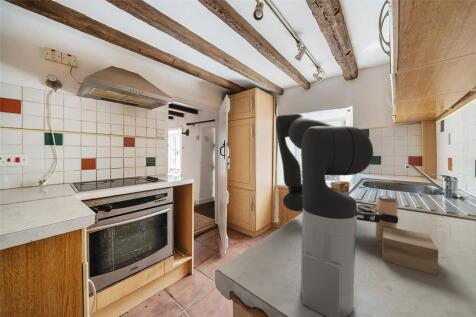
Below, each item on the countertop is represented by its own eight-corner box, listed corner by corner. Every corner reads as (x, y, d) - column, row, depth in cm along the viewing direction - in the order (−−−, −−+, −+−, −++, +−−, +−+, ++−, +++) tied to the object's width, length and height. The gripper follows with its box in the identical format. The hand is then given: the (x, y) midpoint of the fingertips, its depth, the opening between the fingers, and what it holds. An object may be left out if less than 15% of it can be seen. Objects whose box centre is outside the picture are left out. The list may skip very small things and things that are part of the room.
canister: (396, 245, 56) (398, 200, 56) (375, 240, 59) (377, 198, 59) (395, 239, 60) (397, 197, 60) (375, 234, 64) (377, 195, 63)
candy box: (338, 219, 78) (339, 183, 77) (328, 216, 82) (329, 182, 81) (348, 215, 83) (349, 181, 82) (339, 212, 87) (340, 180, 86)
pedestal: (437, 275, 43) (438, 250, 42) (382, 259, 49) (383, 237, 48) (428, 256, 50) (429, 234, 50) (381, 244, 57) (382, 225, 56)
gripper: (333, 201, 63) (399, 211, 52) (340, 193, 74) (396, 200, 64) (333, 222, 63) (398, 237, 52) (340, 212, 74) (395, 222, 64)
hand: (396, 217), depth 58 cm, fingers closed on canister, 5 cm apart
